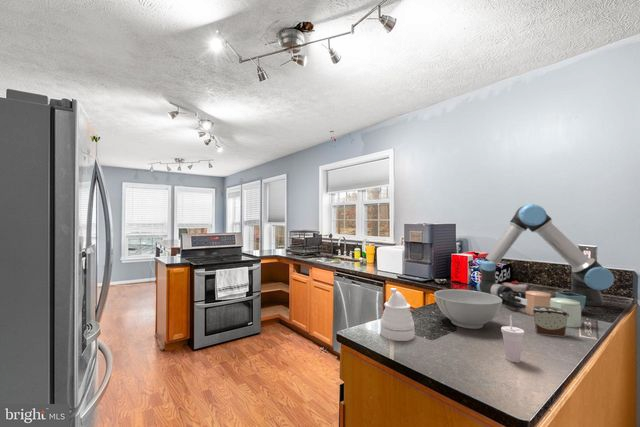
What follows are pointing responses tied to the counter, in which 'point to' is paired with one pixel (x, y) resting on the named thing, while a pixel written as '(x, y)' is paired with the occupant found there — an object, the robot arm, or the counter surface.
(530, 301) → the octagonal lidded jar
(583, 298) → the flower pot
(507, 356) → the smoothie
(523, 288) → the food item
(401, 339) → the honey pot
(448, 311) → the decorative bowl
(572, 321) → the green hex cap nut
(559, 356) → the counter surface
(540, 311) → the food container
